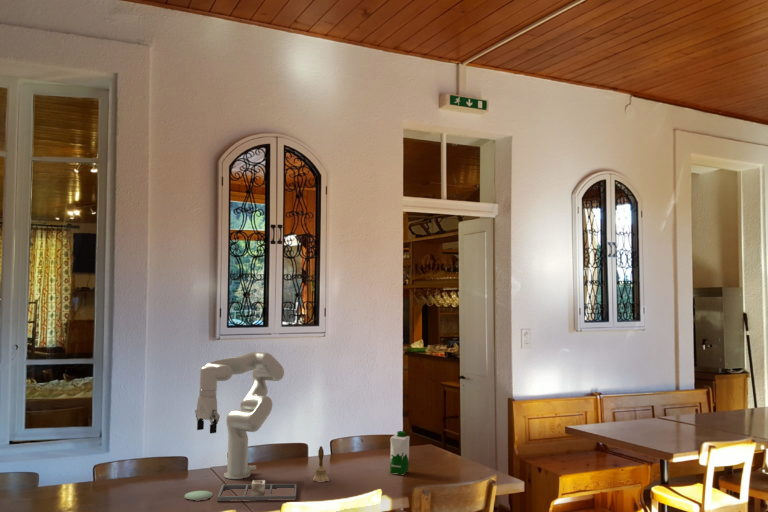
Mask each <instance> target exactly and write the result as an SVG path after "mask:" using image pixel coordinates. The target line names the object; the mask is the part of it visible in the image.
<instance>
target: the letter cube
mask: <svg viewBox="0 0 768 512" xmlns="http://www.w3.org/2000/svg"><path fill="white" fill-rule="evenodd" d="M251 484H252V491H251V496H264V494H265V484H266V480H265V479H262V480H261V479H260V480H259V479H258V480H257V479H255V480H254V479H253V480H252V482H251Z"/></svg>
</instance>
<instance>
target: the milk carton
mask: <svg viewBox="0 0 768 512" xmlns="http://www.w3.org/2000/svg"><path fill="white" fill-rule="evenodd" d="M396 433H397V434H395V435H392V436H391V437H390V439H389V442H390V460H389V461H390V466H389V467H390V468H389V469H390V470H389V471H390V472H389V473H398V474H404V473H406V472H407V471H408V472H409V468H410V466H409V465H410V463H409V462H410V439H411V438H410V435H406V431H404V430H399V431H397V432H396ZM406 474H407V473H406Z"/></svg>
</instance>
